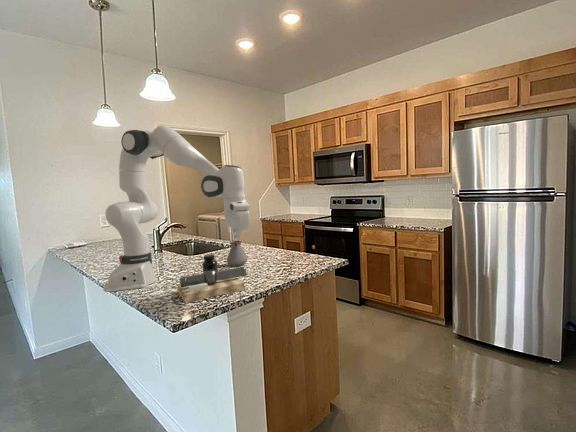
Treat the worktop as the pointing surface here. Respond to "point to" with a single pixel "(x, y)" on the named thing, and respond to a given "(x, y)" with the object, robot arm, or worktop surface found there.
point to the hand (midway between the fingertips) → (237, 238)
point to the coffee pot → (236, 254)
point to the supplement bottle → (209, 263)
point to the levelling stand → (210, 289)
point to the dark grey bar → (212, 276)
